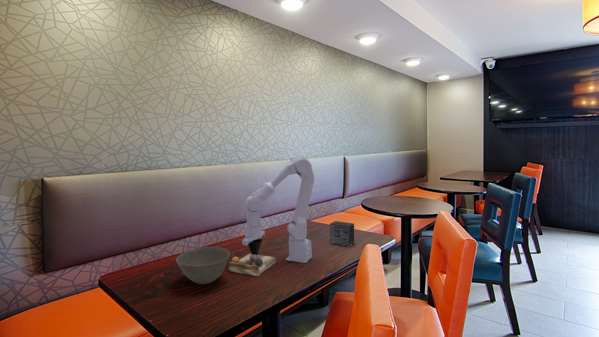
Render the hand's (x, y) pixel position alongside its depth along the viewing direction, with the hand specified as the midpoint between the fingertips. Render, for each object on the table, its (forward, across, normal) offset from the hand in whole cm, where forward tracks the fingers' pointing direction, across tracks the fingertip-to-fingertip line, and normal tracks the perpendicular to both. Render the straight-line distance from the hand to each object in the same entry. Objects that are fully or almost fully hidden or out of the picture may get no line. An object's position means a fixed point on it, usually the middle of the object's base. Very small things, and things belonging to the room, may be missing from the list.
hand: (254, 256), depth 132 cm
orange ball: (0, +7, -4) cm, 8 cm away
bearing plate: (+3, +2, +1) cm, 4 cm away
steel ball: (0, +1, 0) cm, 1 cm away
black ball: (0, +5, +5) cm, 8 cm away
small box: (+3, -38, +27) cm, 47 cm away
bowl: (+3, +21, -9) cm, 23 cm away
